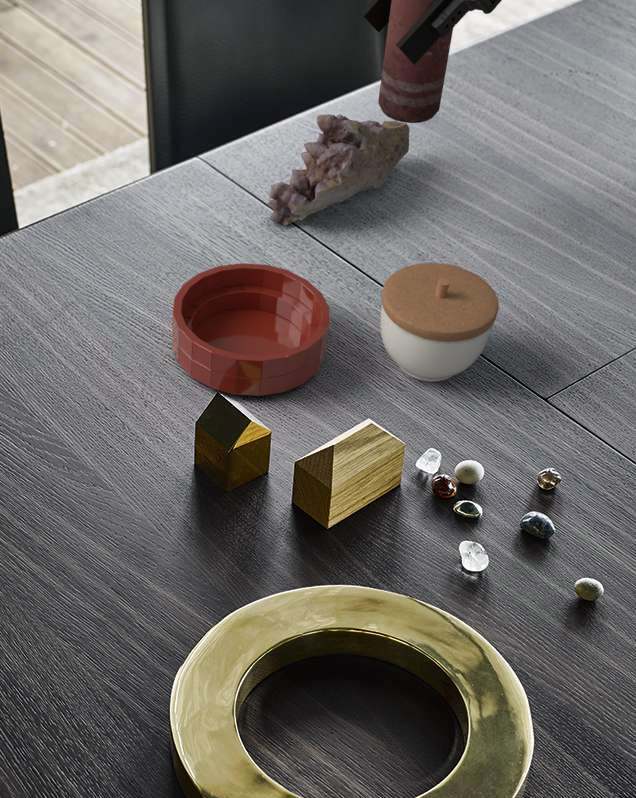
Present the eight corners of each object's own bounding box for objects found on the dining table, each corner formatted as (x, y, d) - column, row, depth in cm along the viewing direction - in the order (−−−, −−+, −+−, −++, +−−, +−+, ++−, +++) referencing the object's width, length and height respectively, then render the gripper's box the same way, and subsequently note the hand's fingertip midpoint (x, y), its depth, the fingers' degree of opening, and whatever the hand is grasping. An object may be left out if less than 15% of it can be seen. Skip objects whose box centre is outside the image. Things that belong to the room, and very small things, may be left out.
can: (440, 97, 127) (464, -43, 117) (436, 128, 122) (460, -15, 112) (381, 89, 127) (399, -50, 117) (374, 120, 123) (393, -23, 113)
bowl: (342, 326, 124) (348, 285, 120) (297, 419, 114) (301, 377, 111) (204, 290, 127) (206, 249, 123) (148, 377, 117) (148, 335, 114)
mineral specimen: (347, 210, 128) (302, 121, 126) (276, 246, 135) (232, 162, 133) (431, 157, 143) (391, 77, 141) (363, 192, 150) (324, 116, 148)
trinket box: (417, 412, 116) (434, 332, 109) (349, 346, 122) (361, 267, 115) (505, 375, 120) (527, 296, 113) (436, 314, 126) (452, 235, 119)
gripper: (653, -98, 108) (459, 108, 115) (529, -173, 120) (359, 18, 127) (620, -158, 103) (418, 62, 109) (493, -230, 115) (318, -28, 121)
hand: (387, 38), depth 118 cm, fingers closed on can, 6 cm apart
